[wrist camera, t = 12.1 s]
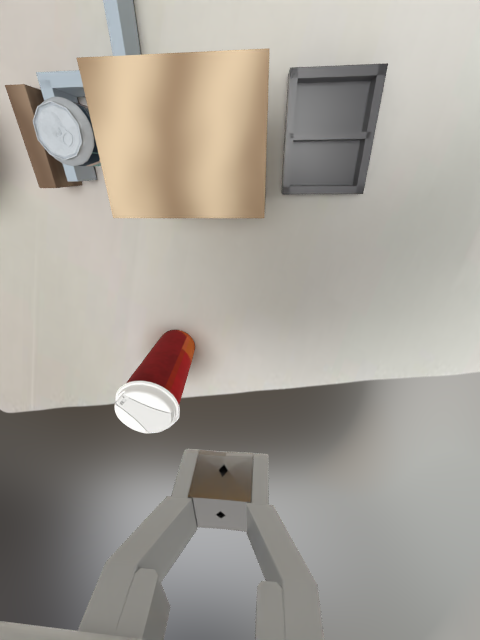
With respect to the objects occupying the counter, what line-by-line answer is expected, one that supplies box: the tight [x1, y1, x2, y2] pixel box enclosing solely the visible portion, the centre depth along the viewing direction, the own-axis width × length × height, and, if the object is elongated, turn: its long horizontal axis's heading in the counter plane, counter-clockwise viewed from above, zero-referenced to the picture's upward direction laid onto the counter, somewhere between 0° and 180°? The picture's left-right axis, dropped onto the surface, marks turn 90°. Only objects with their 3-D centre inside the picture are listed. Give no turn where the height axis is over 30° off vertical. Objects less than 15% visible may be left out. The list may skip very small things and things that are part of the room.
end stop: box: [5, 84, 82, 188], centre depth 31 cm, size 2×9×5 cm, turn 0°
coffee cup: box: [115, 330, 195, 433], centre depth 40 cm, size 8×8×15 cm
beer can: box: [33, 97, 101, 166], centre depth 27 cm, size 5×5×12 cm
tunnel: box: [77, 49, 269, 218], centre depth 25 cm, size 12×10×15 cm
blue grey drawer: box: [36, 0, 141, 181], centre depth 28 cm, size 9×16×4 cm, turn 1°
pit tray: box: [282, 64, 388, 194], centre depth 29 cm, size 9×11×2 cm
